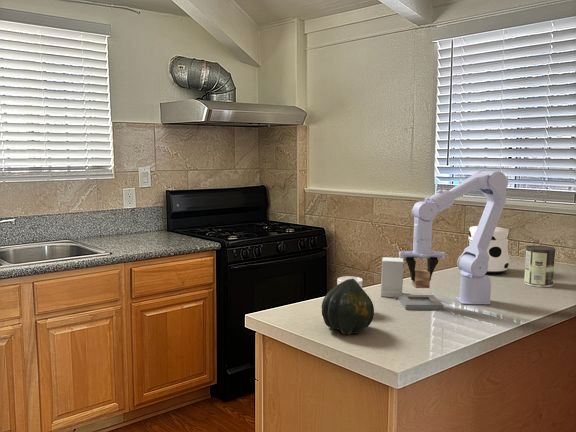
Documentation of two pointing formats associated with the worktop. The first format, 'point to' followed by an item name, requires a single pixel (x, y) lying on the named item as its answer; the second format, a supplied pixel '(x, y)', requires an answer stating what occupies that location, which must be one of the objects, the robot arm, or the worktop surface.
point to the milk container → (495, 249)
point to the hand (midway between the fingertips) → (420, 280)
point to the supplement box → (392, 277)
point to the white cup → (357, 279)
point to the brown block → (421, 279)
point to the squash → (347, 308)
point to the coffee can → (539, 266)
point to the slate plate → (420, 302)
